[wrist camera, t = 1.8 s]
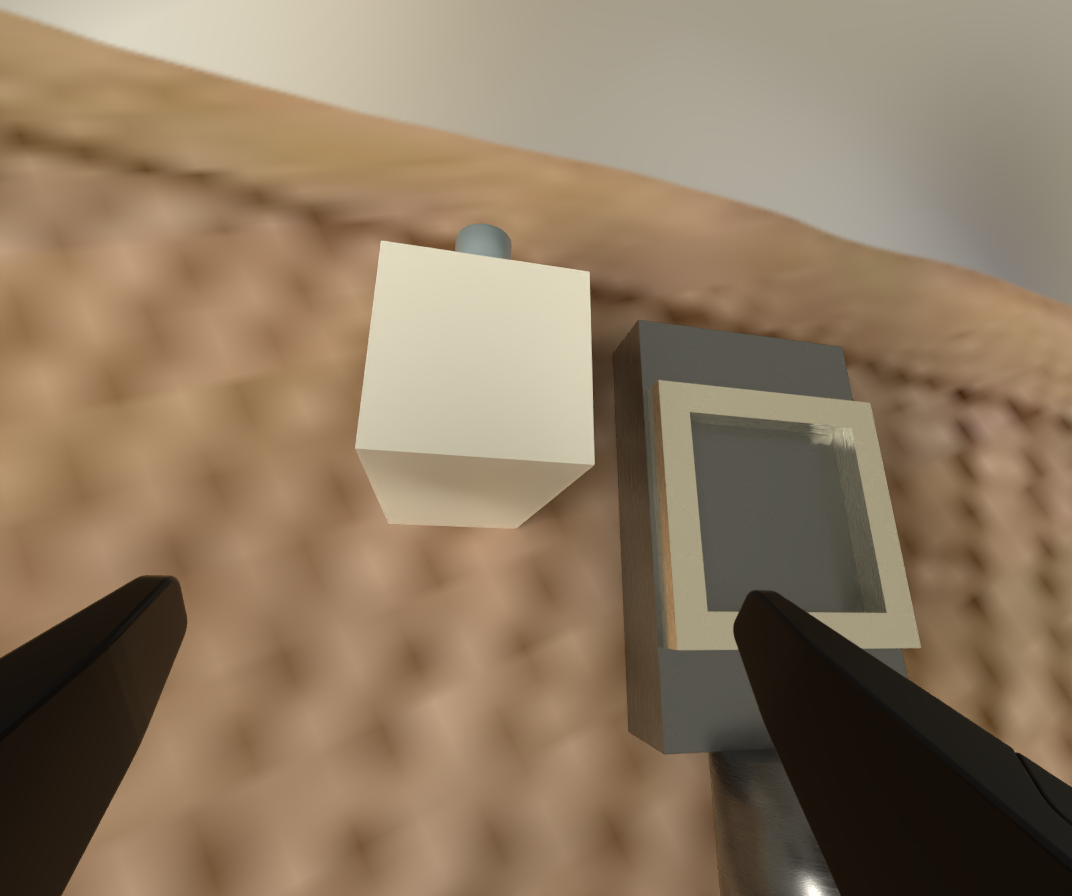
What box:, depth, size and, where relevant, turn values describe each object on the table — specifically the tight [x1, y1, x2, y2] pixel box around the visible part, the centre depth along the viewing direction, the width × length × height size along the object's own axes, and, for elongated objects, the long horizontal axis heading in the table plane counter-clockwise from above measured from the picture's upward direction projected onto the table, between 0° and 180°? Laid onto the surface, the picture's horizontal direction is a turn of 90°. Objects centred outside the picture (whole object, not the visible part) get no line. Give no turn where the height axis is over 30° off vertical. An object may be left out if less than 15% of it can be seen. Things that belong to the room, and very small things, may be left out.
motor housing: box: [613, 320, 921, 896], centre depth 18 cm, size 22×10×6 cm, turn 0°
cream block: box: [355, 224, 595, 529], centre depth 16 cm, size 7×5×10 cm
